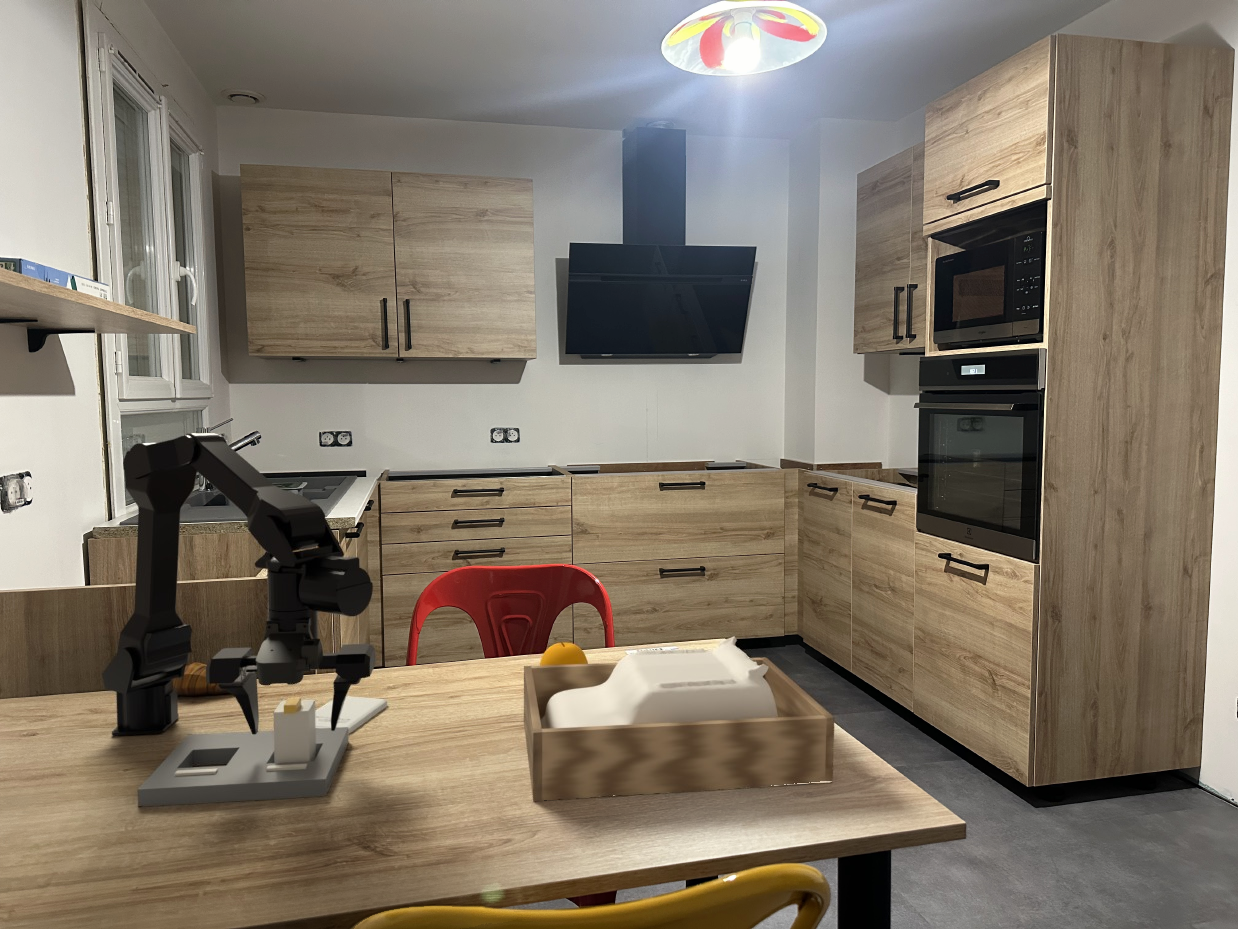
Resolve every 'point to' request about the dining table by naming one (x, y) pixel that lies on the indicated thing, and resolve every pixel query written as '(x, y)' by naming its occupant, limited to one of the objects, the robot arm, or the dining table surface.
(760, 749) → the wooden crate
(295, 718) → the plug
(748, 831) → the dining table surface
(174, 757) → the panel
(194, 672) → the croissant
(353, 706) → the external hard drive
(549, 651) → the apple
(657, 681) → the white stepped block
